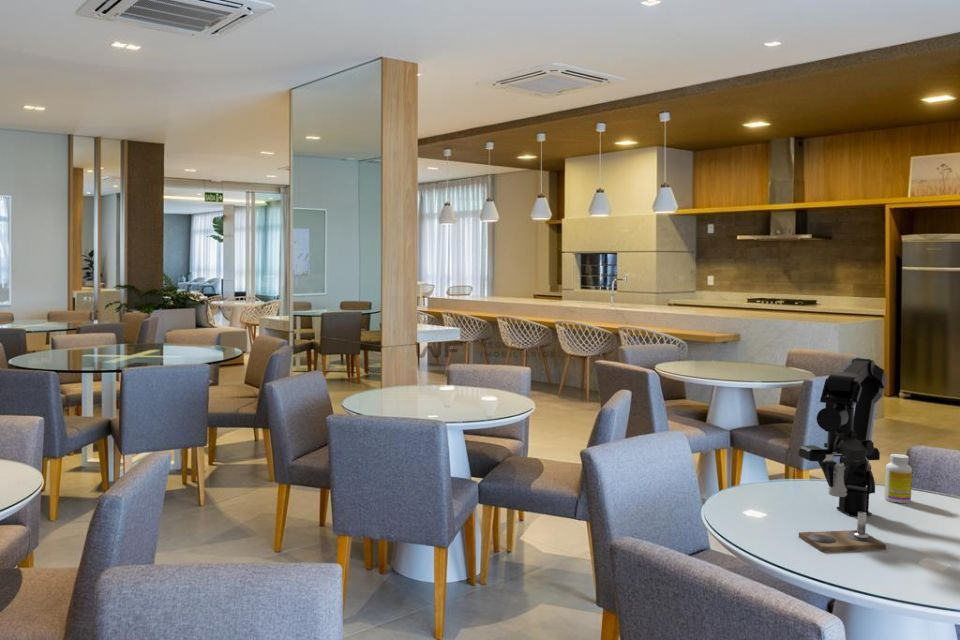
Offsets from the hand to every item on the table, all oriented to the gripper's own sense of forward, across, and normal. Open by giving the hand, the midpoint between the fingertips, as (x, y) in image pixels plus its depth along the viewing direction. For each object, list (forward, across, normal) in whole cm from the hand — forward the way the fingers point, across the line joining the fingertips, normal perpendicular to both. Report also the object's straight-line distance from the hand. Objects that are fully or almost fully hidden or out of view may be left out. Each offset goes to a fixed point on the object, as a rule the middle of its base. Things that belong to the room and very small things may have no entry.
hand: (837, 486), depth 201 cm
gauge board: (+10, -5, -11) cm, 16 cm away
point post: (+9, 0, -11) cm, 14 cm away
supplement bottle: (+11, +31, +20) cm, 39 cm away
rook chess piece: (+2, 0, 0) cm, 2 cm away
